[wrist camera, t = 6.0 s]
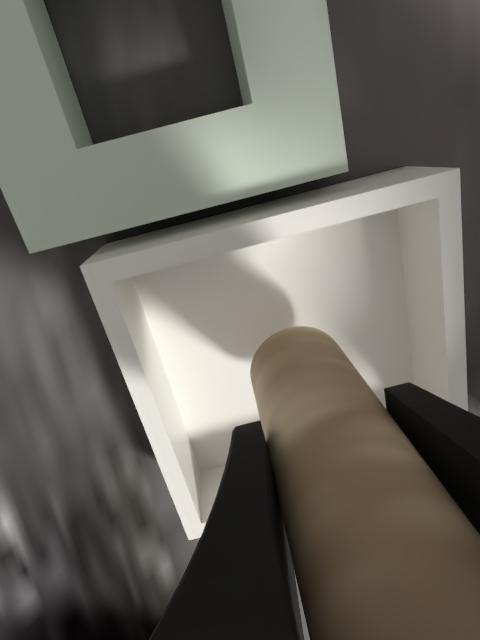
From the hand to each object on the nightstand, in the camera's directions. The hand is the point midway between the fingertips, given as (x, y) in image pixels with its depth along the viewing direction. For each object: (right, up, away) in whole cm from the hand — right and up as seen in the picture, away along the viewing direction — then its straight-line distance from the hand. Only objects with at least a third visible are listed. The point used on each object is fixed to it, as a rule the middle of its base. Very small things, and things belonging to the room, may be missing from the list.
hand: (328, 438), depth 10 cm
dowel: (0, +1, +3) cm, 3 cm away
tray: (0, +2, +5) cm, 6 cm away
